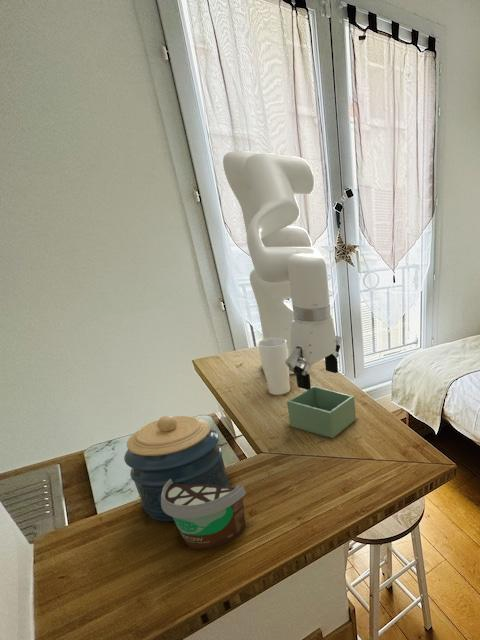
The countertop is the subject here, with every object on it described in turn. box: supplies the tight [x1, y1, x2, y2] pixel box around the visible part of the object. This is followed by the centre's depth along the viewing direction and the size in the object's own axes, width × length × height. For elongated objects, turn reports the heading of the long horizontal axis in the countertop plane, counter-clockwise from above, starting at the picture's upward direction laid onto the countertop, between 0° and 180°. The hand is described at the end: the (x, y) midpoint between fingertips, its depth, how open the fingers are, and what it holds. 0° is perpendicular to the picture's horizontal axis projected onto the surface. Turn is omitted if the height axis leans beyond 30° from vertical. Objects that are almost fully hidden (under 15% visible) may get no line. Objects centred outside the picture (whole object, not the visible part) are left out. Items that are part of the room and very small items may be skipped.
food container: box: [161, 479, 247, 550], centre depth 64 cm, size 12×6×10 cm, turn 91°
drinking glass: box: [257, 338, 291, 396], centre depth 109 cm, size 7×7×15 cm
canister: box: [123, 415, 230, 522], centre depth 70 cm, size 13×13×18 cm
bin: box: [286, 385, 357, 439], centre depth 99 cm, size 9×12×7 cm
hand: (318, 379), depth 95 cm, fingers open, 9 cm apart
